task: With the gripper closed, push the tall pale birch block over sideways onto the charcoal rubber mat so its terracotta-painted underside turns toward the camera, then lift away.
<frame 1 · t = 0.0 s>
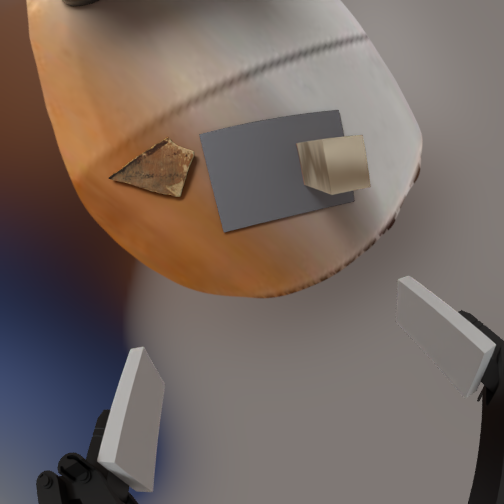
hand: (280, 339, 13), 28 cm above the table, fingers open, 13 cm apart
rubber mat: (282, 167, 38), on the table
shard: (158, 176, 37), on the table
birch block: (316, 161, 37), resting on rubber mat
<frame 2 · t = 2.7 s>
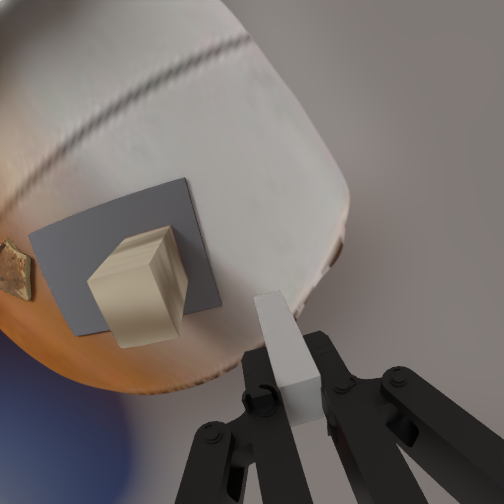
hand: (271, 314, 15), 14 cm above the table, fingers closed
rubber mat: (116, 268, 28), on the table
shard: (12, 274, 26), on the table
birch block: (156, 259, 27), resting on rubber mat
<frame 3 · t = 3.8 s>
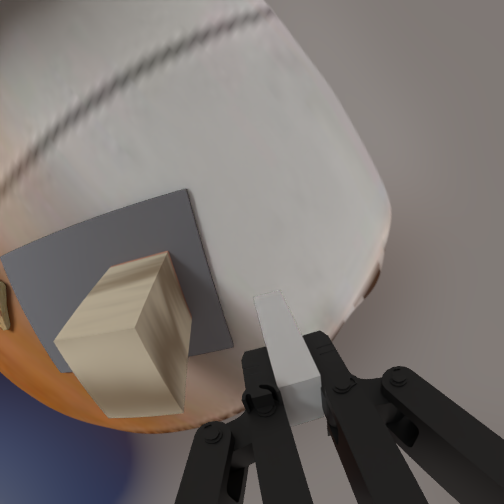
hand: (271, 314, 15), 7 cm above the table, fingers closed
rubber mat: (102, 301, 21), on the table
birch block: (151, 292, 21), resting on rubber mat
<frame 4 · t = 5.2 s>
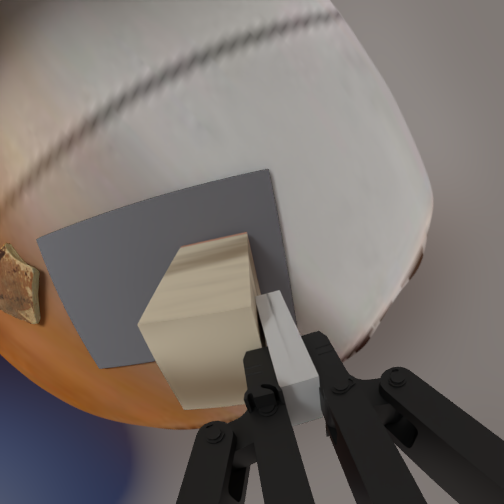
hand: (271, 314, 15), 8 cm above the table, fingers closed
rubber mat: (163, 286, 22), on the table
shard: (14, 290, 20), on the table
birch block: (223, 275, 21), point 1 cm above the table, tilted 6°, touching gripper, rubber mat
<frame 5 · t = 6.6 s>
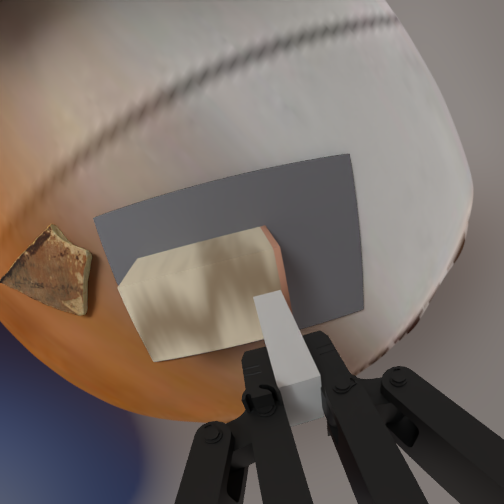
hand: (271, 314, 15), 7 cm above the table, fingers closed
rubber mat: (240, 267, 22), on the table
shard: (55, 279, 21), on the table
birch block: (279, 275, 19), point 3 cm above the table, tilted 90°, touching rubber mat
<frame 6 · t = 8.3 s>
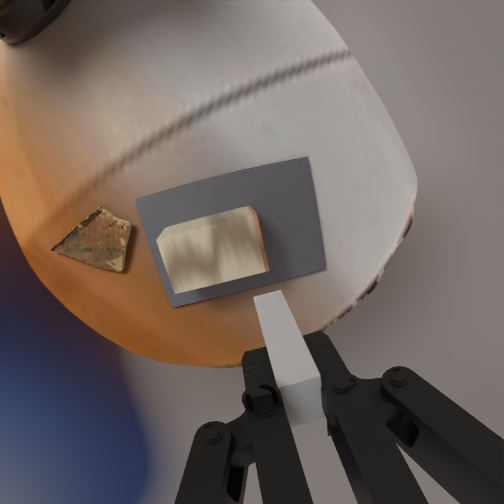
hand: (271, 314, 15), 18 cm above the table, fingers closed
rubber mat: (235, 234, 32), on the table
shard: (99, 246, 32), on the table
birch block: (259, 236, 30), point 3 cm above the table, tilted 90°, touching rubber mat
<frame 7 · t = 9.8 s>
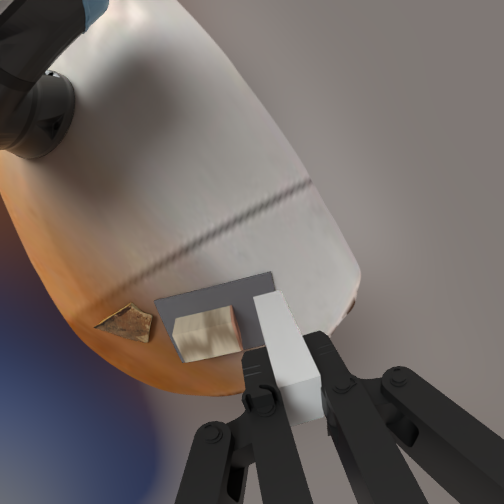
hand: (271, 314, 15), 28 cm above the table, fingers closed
rubber mat: (222, 321, 48), on the table
shard: (130, 325, 47), on the table
birch block: (237, 327, 45), point 3 cm above the table, tilted 90°, touching rubber mat
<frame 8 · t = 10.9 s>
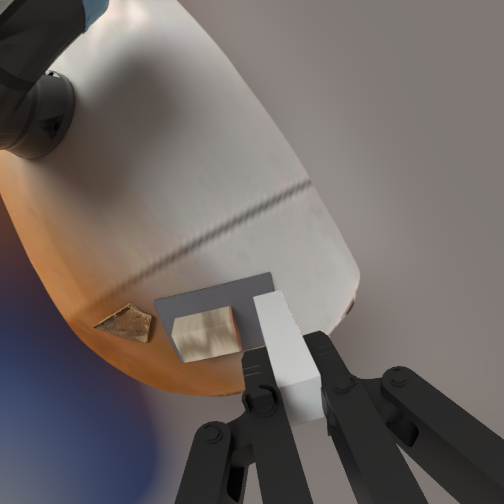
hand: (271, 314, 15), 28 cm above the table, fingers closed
rubber mat: (221, 321, 48), on the table
shard: (129, 325, 47), on the table
birch block: (236, 328, 45), point 3 cm above the table, tilted 90°, touching rubber mat
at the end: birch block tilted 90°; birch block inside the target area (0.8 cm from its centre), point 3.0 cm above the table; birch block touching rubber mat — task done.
